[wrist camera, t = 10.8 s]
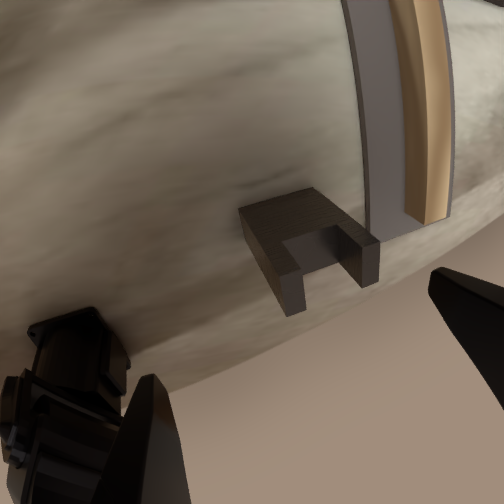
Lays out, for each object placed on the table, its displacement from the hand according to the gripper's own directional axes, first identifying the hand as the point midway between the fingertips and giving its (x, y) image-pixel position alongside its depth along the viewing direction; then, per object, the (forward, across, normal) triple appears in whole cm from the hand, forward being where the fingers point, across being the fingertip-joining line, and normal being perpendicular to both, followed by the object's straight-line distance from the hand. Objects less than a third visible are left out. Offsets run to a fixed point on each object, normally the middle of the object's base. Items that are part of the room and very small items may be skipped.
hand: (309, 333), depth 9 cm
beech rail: (+11, -14, -7) cm, 19 cm away
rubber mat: (+12, -14, -7) cm, 20 cm away
